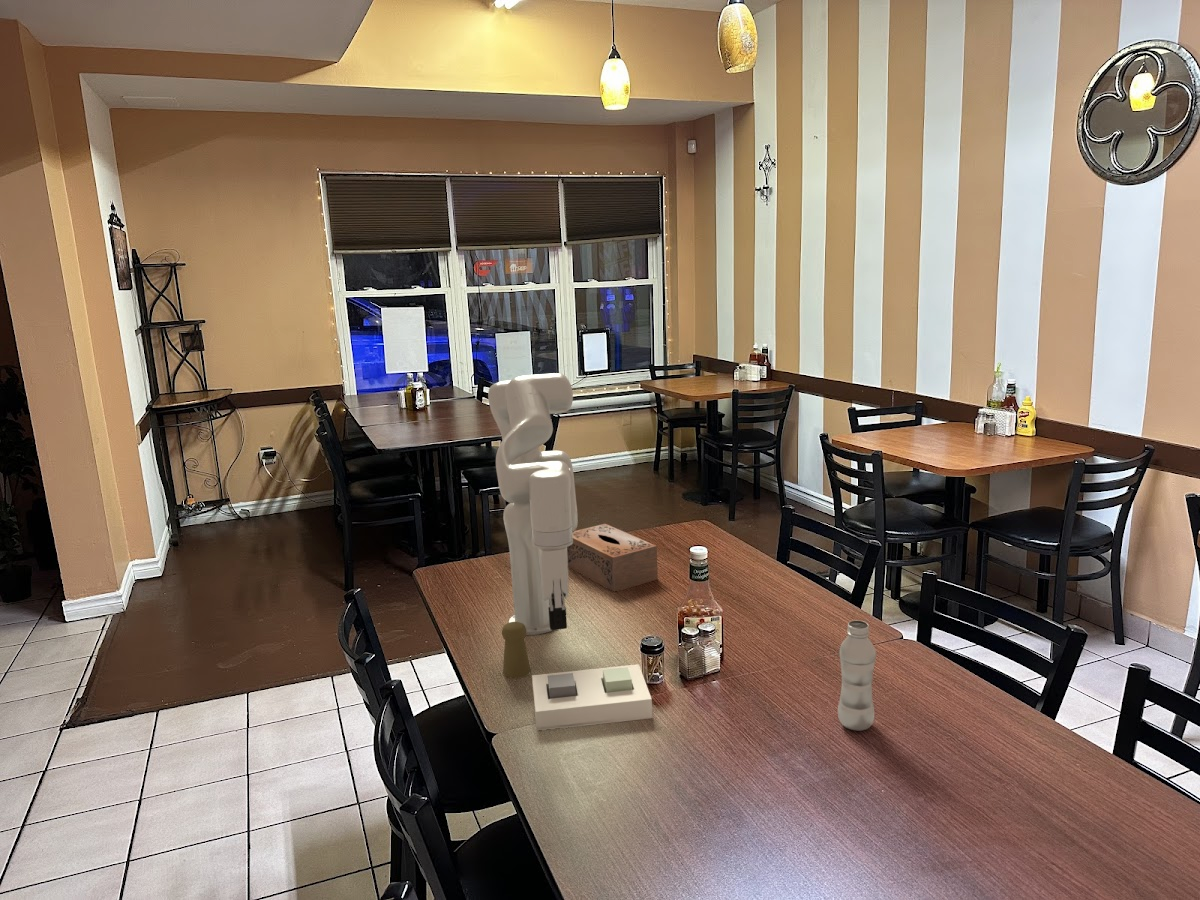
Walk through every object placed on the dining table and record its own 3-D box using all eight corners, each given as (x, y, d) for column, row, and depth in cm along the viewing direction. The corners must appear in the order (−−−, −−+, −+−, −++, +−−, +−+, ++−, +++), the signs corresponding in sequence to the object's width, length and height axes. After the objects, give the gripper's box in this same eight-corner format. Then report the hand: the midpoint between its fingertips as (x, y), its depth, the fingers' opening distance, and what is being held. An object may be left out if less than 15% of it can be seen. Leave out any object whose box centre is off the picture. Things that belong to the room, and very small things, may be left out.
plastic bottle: (874, 718, 149) (877, 618, 145) (873, 738, 143) (877, 634, 138) (838, 713, 151) (840, 614, 147) (836, 732, 145) (838, 630, 140)
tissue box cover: (657, 580, 220) (656, 545, 218) (614, 593, 213) (612, 557, 211) (606, 555, 242) (605, 523, 240) (565, 566, 234) (563, 533, 232)
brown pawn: (526, 679, 169) (523, 631, 167) (499, 677, 170) (495, 629, 168) (534, 665, 175) (531, 618, 172) (508, 664, 176) (504, 617, 174)
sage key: (603, 683, 160) (602, 669, 159) (628, 680, 160) (627, 667, 160) (606, 696, 155) (606, 682, 154) (632, 693, 156) (631, 679, 155)
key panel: (533, 693, 163) (531, 675, 162) (639, 681, 166) (638, 664, 165) (536, 731, 150) (535, 711, 149) (652, 718, 152) (651, 698, 151)
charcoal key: (548, 689, 159) (547, 675, 158) (573, 686, 159) (572, 672, 159) (550, 702, 154) (549, 688, 153) (576, 699, 154) (575, 685, 154)
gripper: (530, 526, 156) (536, 614, 160) (534, 550, 142) (541, 646, 145) (568, 522, 157) (574, 610, 161) (576, 546, 142) (582, 642, 146)
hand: (558, 627), depth 153 cm, fingers closed
